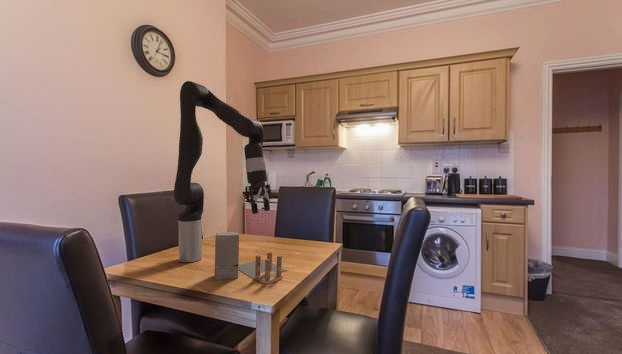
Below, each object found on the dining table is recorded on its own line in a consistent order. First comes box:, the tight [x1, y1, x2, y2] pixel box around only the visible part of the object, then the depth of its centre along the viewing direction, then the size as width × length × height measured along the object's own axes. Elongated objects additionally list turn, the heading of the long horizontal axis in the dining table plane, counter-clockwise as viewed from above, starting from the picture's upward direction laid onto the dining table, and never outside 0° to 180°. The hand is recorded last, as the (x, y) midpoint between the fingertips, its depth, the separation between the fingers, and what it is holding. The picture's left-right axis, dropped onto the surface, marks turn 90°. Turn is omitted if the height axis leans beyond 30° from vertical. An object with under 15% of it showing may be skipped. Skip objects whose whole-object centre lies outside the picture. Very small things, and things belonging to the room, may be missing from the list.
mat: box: [238, 259, 288, 280], centre depth 115 cm, size 18×14×1 cm
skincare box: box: [214, 231, 240, 282], centre depth 106 cm, size 8×7×16 cm
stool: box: [253, 251, 283, 285], centre depth 103 cm, size 7×7×8 cm
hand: (261, 212), depth 113 cm, fingers open, 8 cm apart
